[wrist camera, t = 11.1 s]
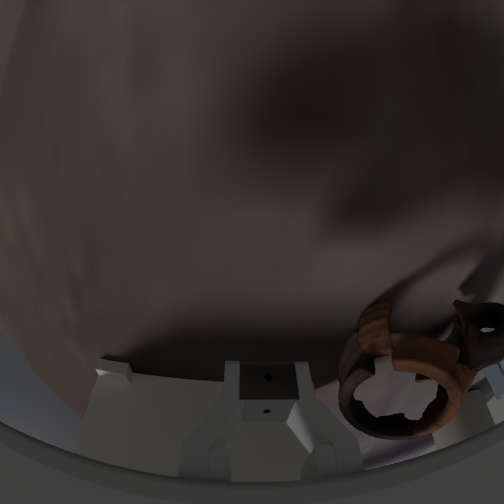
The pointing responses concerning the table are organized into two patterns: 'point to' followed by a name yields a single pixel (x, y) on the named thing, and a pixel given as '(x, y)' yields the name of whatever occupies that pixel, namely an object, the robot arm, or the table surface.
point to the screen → (176, 427)
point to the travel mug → (465, 421)
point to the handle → (496, 378)
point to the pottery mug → (419, 365)
